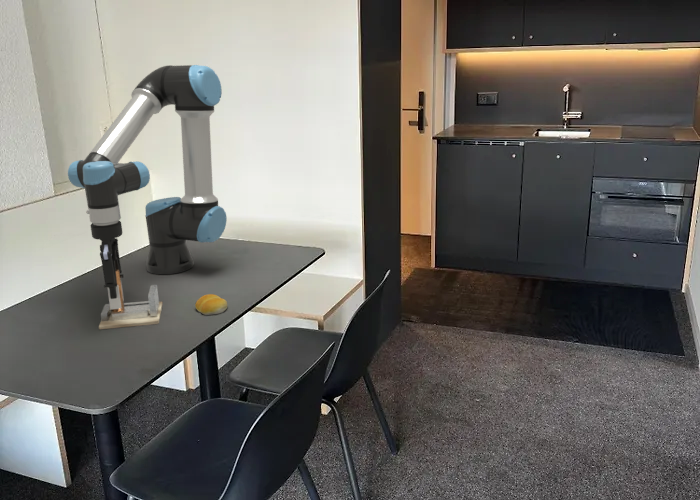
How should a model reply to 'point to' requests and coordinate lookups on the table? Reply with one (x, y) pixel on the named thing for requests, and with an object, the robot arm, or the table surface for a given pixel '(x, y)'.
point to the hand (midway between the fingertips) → (117, 305)
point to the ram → (151, 307)
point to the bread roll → (211, 304)
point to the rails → (126, 314)
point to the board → (131, 321)
